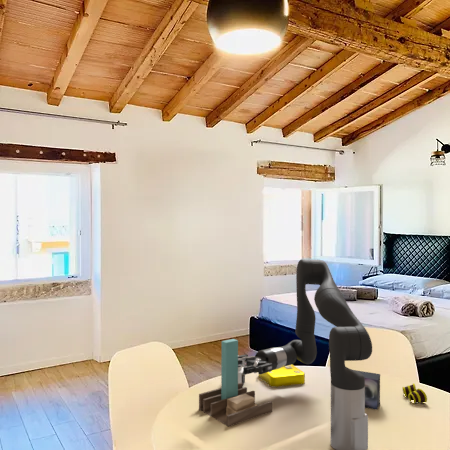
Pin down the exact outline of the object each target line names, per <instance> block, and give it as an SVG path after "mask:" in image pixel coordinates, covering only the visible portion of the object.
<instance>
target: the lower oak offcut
mask: <svg viewBox="0 0 450 450" xmlns="http://www.w3.org/2000/svg"><path fill="white" fill-rule="evenodd" d="M255 406H257V403H256V404H255ZM253 407H254V406H253ZM250 408H251V407H250ZM247 409H248V408H247ZM244 410H245V409H244ZM240 411H242V410H240ZM237 412H239V411H237ZM233 413H236V411H234V410H232V409H230V408H228V407H226V415H230V414H233Z"/></svg>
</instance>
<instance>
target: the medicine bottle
mask: <svg viewBox="0 0 450 450" xmlns="http://www.w3.org/2000/svg"><path fill="white" fill-rule="evenodd" d="M240 364H242V363H240ZM243 368H244V367H242V366H238V383H240V382H242V383H243V386H244V385H245V383H246V375H245V374H243Z"/></svg>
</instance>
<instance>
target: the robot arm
mask: <svg viewBox="0 0 450 450" xmlns="http://www.w3.org/2000/svg"><path fill="white" fill-rule="evenodd" d="M295 277H296V278H295V280H296V320H295V321H296V322H295V331H294V332H295V335H296V336H297V338H299V339H293V340H291V341H289V342H288V343H287V344H285V345H283V346H278V347H270V348H266V349H261V350H258V351H257V352H256V353H255V355H251V356H249V355H248V354H242V355H241V354H240V355H238V366H242V367H244V368H243V374H245V376H246V375H249V374H258V375H259V374H264V373H267V372H270V371H272V370H276V369H279V368H281V367H284V366H288V365H291V364H292V365H294V364H295V363H296V361H297V360H298V361H300V362H301V363H303V364H304V365H305V364H306V365H310V364H313V363H314V362H315V360H316V358H317V354H318V351H317V350H318V349H317V343H316V336H315V327H316V313H315V310H314V308H313V306H312V304H311V303H310V300H309V297H308V295H307V292H306V291H307V290H306V285H313V286H314V285H315V286H316V285H318V286H319V287H318V288H317V289H316V291H315V293H314V298H313V299H314V304H315V306H316V309H317V311H318V313H319V315H320V316H321V317H322V318H323V319H324V320H325V321H327V322H328V323H329V324H331V325H333V326H334V327H332V328H331V329H330V331H329V336H328V350H329V372H330V446H331V448H333V450H368V449H369V448H368V447H369V446H368V445H369V416H368V414H367V413H366V410H365V409H366V408H365V378H364V376H363V375H362V374H361V373H360V372H358V371H359V370H357V371H355V370H356V369H353V368H352V369H351V368H349V367H347V366H346V362H347V361H348V362H350V361H351V362H352V361H356V362H357V361H364V360H368V359H370V357H371V355H372V353H373V343H372V339H371V337H370V334H369V332H368V330H367V329H366V327H365V326H364V325H363V323H361V321H360V320H359V318H357V316H356V315H355V314H354V313H353V310H352V309H351V308H350V306H349V304H348V302H347V300H346V299H345V297H344V295H343V294H342V292H341V290H340V289H339V288H338V286H337V283H336V282H335V280H334V278H333V275H332V272H331V271H330V269H329V265H328V264H327V262H326V261H324V260H321V259H309V258H308V259H307V258H306V259H305V258H301V259H300V260H299V261H298V262H297V267H296V275H295ZM240 363H242V364H240Z"/></svg>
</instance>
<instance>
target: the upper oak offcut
mask: <svg viewBox="0 0 450 450" xmlns="http://www.w3.org/2000/svg"><path fill="white" fill-rule="evenodd" d="M255 403H256V397H255V398H254V397H252V396H249V395H247V394H243V395H239V396H236V397H233V398H229V399H227V407H228V408H230V409H232V410H234V411H236V412H237V411H240V410H244V409H247V408H250V407H253V406H255Z"/></svg>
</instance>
